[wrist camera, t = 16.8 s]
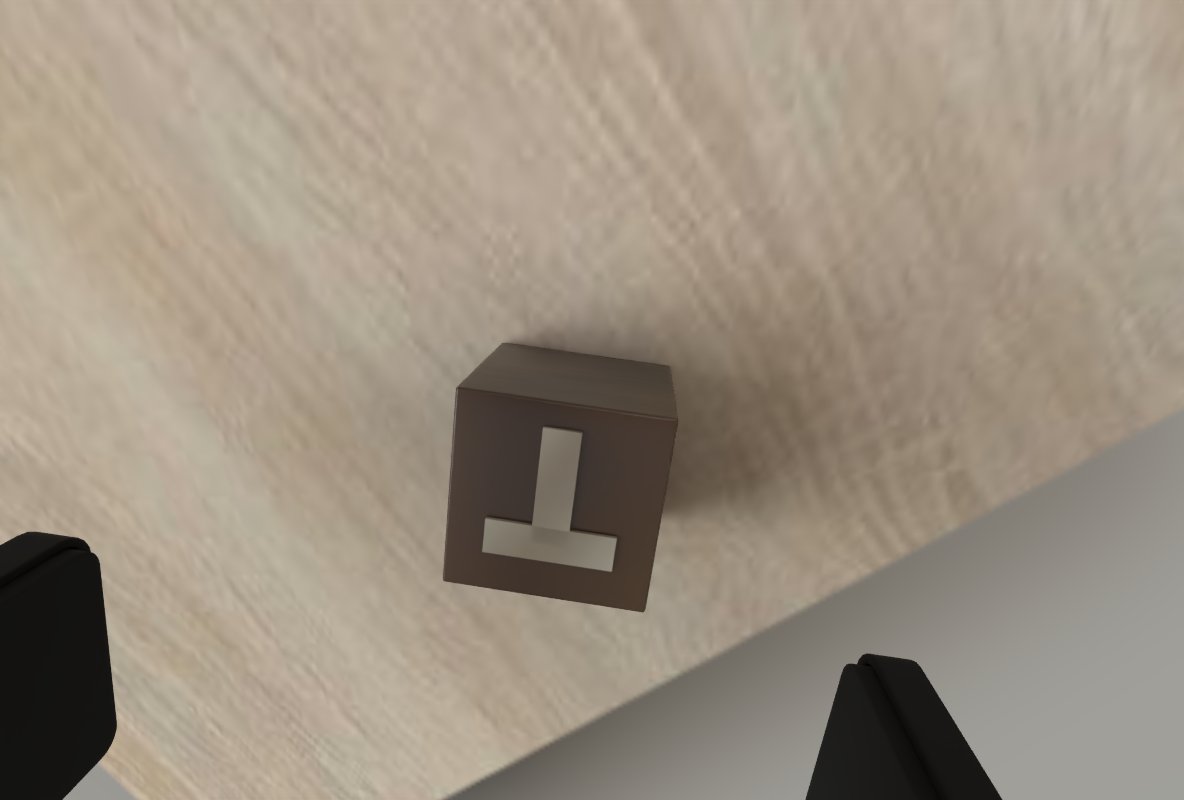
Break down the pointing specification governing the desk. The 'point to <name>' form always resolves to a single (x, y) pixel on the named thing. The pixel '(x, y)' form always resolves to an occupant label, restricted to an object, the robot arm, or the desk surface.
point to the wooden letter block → (559, 475)
